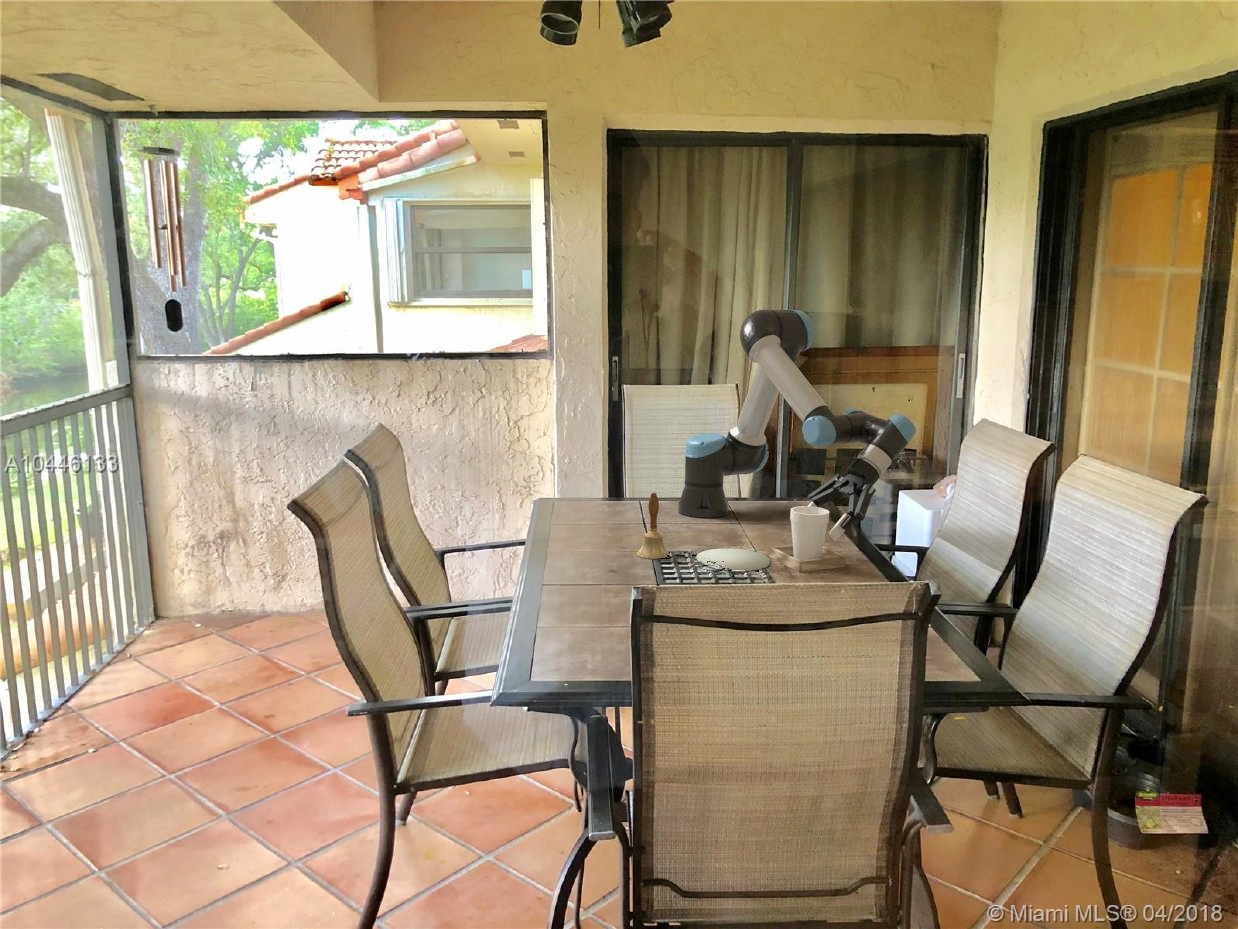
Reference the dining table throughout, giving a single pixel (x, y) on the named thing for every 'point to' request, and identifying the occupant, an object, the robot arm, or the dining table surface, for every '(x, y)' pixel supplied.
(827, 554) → the cup socket
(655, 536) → the hand bell
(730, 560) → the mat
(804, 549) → the foam cup
